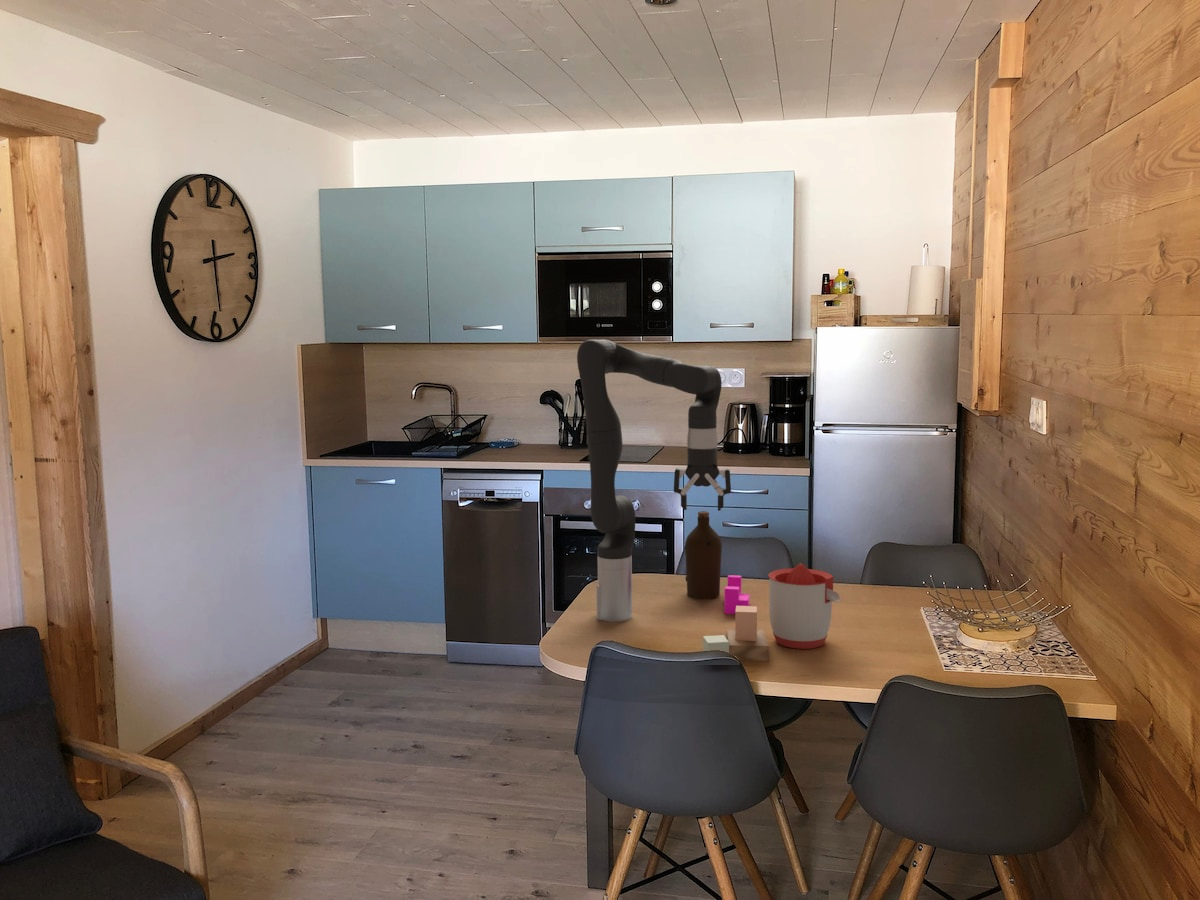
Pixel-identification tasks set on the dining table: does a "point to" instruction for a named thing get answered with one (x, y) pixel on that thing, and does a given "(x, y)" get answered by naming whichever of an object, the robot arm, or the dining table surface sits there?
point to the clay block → (746, 623)
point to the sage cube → (715, 643)
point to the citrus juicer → (801, 606)
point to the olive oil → (703, 560)
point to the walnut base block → (748, 647)
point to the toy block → (734, 595)
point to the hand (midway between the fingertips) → (702, 509)
